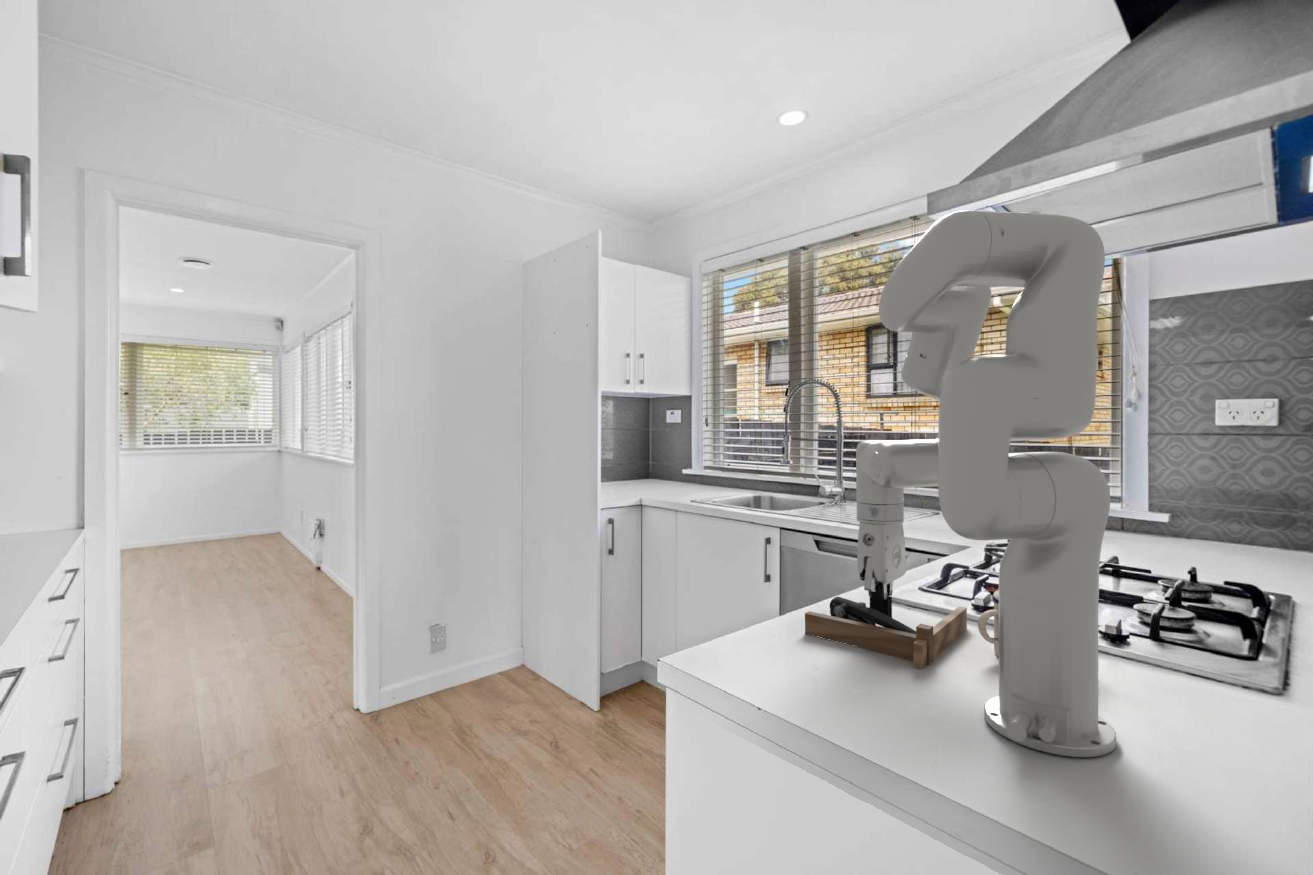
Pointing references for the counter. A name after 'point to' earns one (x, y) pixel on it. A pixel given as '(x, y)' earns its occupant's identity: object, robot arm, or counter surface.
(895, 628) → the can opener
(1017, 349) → the robot arm
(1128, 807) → the counter surface
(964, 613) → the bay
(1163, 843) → the counter surface
